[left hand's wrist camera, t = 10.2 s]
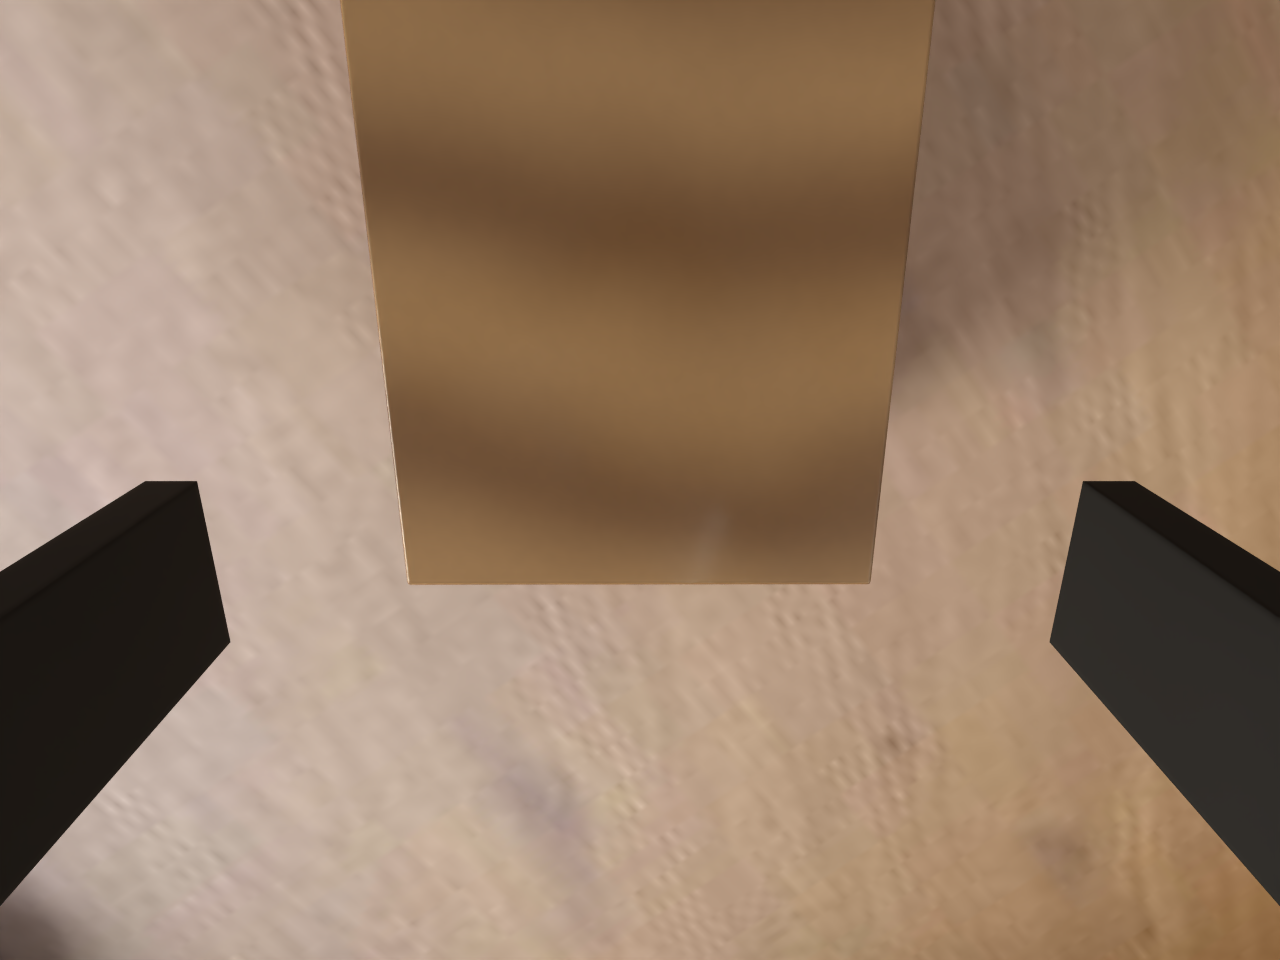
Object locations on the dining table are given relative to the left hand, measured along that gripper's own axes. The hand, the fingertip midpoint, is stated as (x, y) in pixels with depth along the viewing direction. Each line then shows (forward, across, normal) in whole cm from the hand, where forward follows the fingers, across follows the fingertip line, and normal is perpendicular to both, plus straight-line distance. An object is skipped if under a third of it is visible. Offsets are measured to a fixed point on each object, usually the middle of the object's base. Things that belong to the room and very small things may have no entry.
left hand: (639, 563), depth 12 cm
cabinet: (+18, 0, -5) cm, 18 cm away
